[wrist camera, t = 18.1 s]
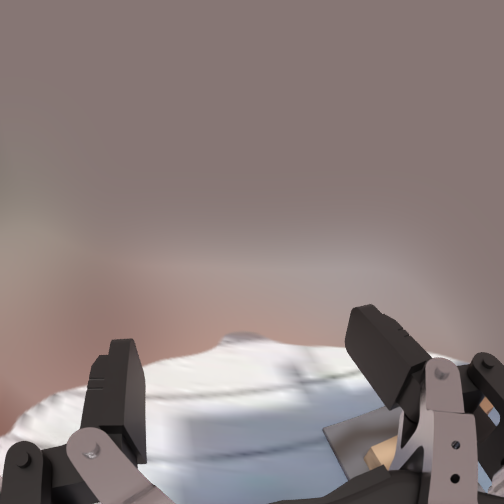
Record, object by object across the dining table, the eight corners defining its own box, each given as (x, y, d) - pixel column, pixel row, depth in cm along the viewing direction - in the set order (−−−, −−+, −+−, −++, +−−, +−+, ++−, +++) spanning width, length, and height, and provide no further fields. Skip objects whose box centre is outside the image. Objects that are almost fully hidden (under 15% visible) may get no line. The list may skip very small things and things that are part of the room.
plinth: (487, 500, 18) (504, 488, 16) (394, 566, 15) (409, 561, 13) (410, 396, 39) (418, 380, 38) (322, 430, 36) (327, 414, 34)
